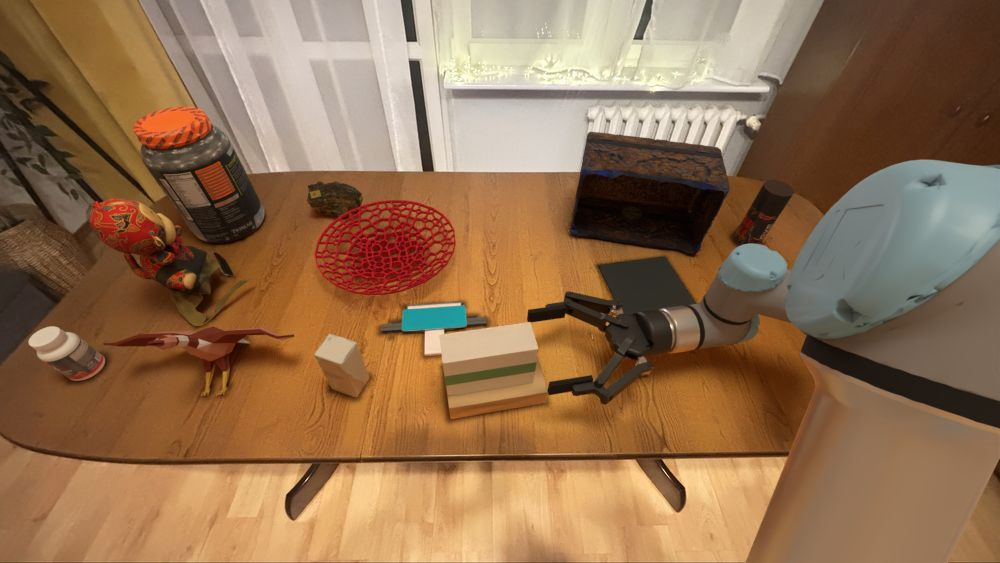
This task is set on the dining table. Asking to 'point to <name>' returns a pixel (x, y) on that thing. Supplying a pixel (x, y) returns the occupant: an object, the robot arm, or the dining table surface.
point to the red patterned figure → (160, 253)
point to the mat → (645, 285)
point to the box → (342, 365)
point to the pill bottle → (67, 353)
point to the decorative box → (648, 191)
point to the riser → (500, 398)
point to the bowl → (385, 249)
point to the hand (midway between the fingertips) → (537, 350)
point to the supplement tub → (199, 173)
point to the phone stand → (433, 322)
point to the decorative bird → (201, 346)
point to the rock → (334, 198)
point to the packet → (488, 358)
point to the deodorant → (763, 212)
